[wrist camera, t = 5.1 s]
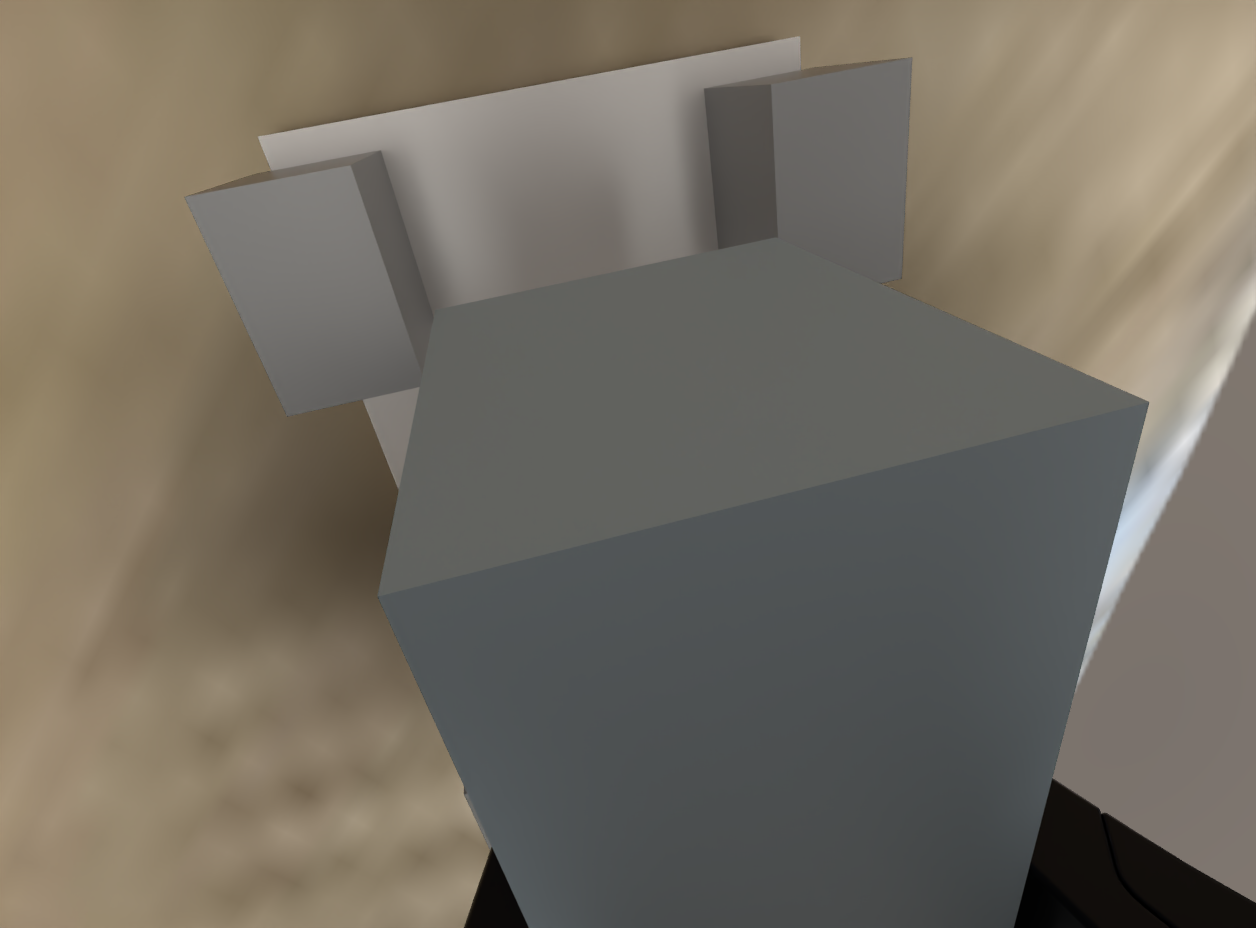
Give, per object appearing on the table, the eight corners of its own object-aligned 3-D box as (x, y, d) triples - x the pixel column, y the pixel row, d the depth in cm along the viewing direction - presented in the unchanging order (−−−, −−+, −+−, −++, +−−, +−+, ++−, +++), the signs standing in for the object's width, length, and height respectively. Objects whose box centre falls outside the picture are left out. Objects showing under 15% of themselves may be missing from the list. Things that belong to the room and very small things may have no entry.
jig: (809, 657, 20) (878, 771, 17) (500, 743, 19) (505, 883, 16) (790, 38, 12) (914, 12, 9) (259, 137, 11) (163, 151, 8)
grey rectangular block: (803, 831, 14) (952, 1163, 9) (615, 888, 13) (682, 1261, 9) (774, 237, 8) (1149, 402, 3) (435, 310, 7) (377, 595, 3)
